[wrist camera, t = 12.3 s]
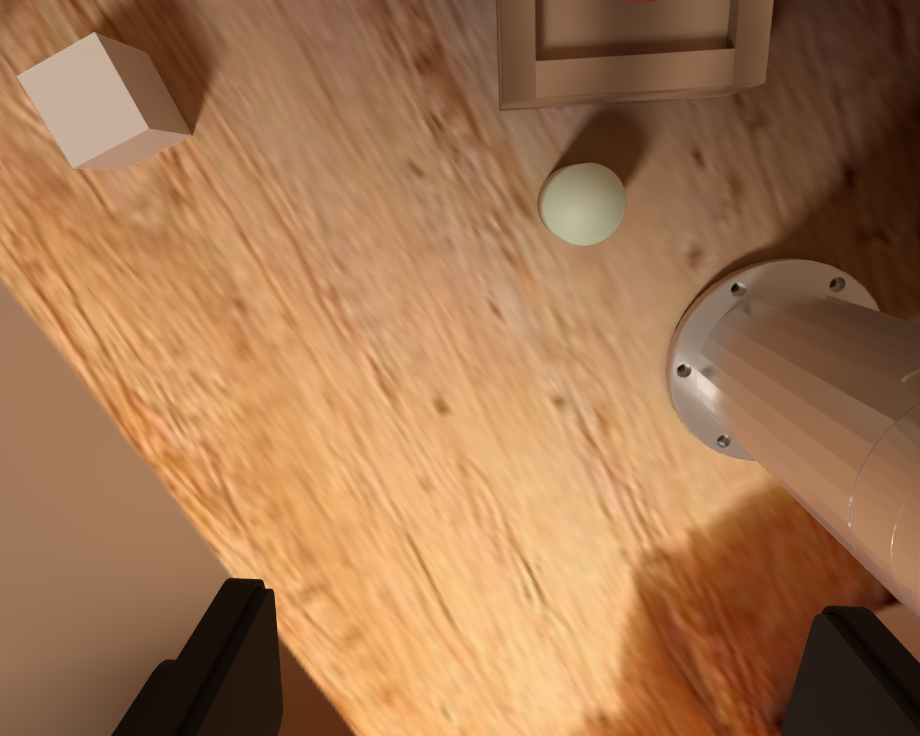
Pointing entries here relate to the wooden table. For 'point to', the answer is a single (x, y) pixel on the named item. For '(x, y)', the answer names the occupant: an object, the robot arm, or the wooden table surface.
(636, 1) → the red fruit
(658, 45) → the shallow wooden tray
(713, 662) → the wooden table surface
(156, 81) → the grey ceramic cube
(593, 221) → the sage painted capsule
